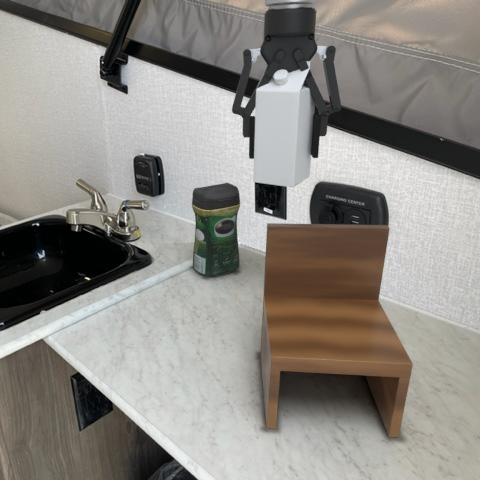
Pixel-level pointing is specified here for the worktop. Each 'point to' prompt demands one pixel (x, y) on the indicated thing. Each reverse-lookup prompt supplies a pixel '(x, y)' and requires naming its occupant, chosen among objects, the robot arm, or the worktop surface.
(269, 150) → the milk carton
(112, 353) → the worktop surface
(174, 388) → the worktop surface
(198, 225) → the coffee jar
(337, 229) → the wooden toy chair
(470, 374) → the worktop surface
